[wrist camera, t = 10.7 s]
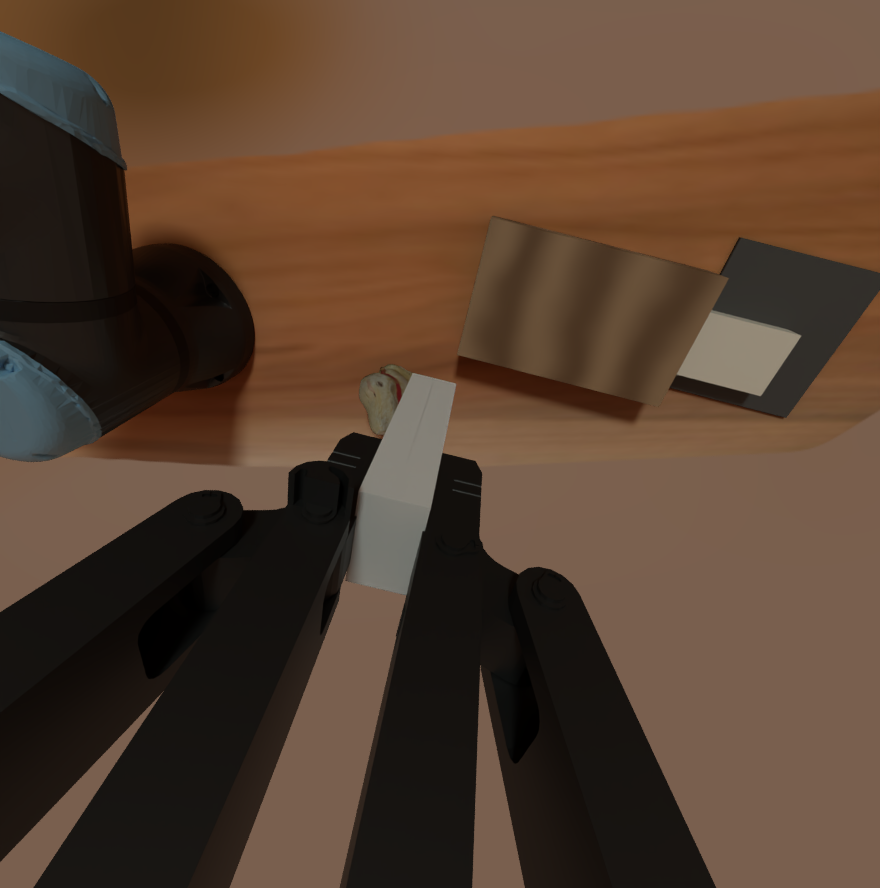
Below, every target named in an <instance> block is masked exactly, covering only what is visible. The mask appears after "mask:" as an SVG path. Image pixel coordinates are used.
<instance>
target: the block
mask: <svg viewBox="0 0 880 888" xmlns="http://www.w3.org/2000/svg"><path fill="white" fill-rule="evenodd" d="M800 337H801V335H799V334H797V333H795V332H792V331H790V330H788V329H784V328H780V327H776V326H772V325H768V324H764V323H760V322H756V321H752V320H749V319H745V318H741V317H737V316H733V315H729V314H725V313H721V312H717V311H713V310H711V312H710V314H709V316H708V318H707V319H706V321H705V323H704V325H703V327H702V329H701V330H700V332H699V334H698V336H697V338H696V340H695V341H694V343H693V345H692V347H691V349H690V351H689V353H688V354H687V356H686V358H685V360H684V362H683V364H682V365H681V367H680V369H679V371H678V373H677V375H680V376H684V377H688V378H692V379H696V380H700V381H704V382H708V383H711V384H715V385H719V386H723V387H727V388H731V389H735V390H739V391H743V392H746V393H750V394H754V395H758V396H761V395H762V394H763V392H764V391H765V389H766V388H767V386H768V385H769V383H770V382H771V380H772V379H773V377H774V376H775V374H776V373H777V371H778V370H779V368H780V367H781V365H782V364H783V362H784V361H785V360H786V358H787V357H788V355H789V354H790V352H791V351H792V349H793V348H794V346H795V345H796V343H797V342H798V340H799V339H800Z"/></svg>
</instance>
